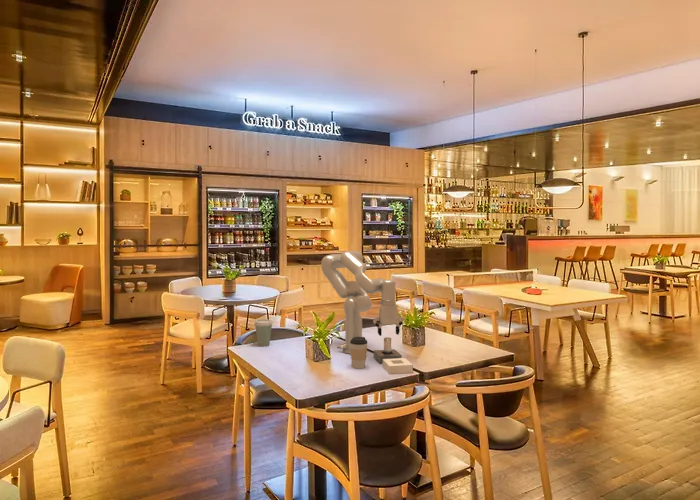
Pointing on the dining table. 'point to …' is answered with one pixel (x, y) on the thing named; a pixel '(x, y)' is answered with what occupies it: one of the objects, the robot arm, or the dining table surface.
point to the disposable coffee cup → (263, 331)
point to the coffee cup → (358, 352)
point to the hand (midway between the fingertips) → (388, 334)
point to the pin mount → (385, 355)
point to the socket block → (397, 366)
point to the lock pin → (387, 345)
